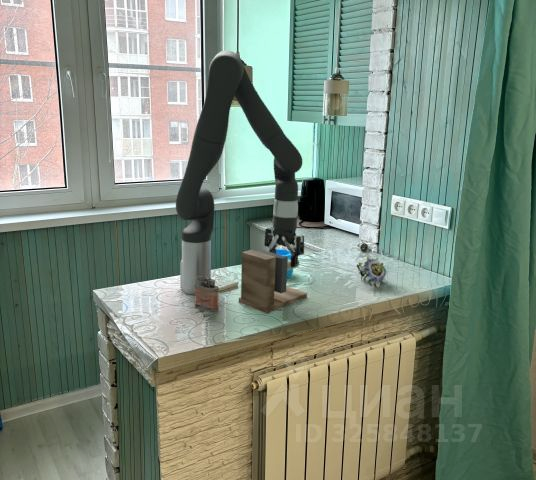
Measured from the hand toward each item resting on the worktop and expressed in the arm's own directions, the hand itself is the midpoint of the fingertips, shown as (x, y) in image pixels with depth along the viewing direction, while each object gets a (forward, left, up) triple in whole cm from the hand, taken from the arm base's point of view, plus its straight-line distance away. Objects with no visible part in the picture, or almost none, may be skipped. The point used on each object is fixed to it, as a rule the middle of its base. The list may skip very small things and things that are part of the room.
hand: (282, 263), depth 166 cm
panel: (0, -6, -6) cm, 9 cm away
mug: (-13, +16, -11) cm, 23 cm away
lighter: (-9, -24, -11) cm, 28 cm away
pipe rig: (0, -4, -11) cm, 12 cm away
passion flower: (+13, +32, -11) cm, 36 cm away
